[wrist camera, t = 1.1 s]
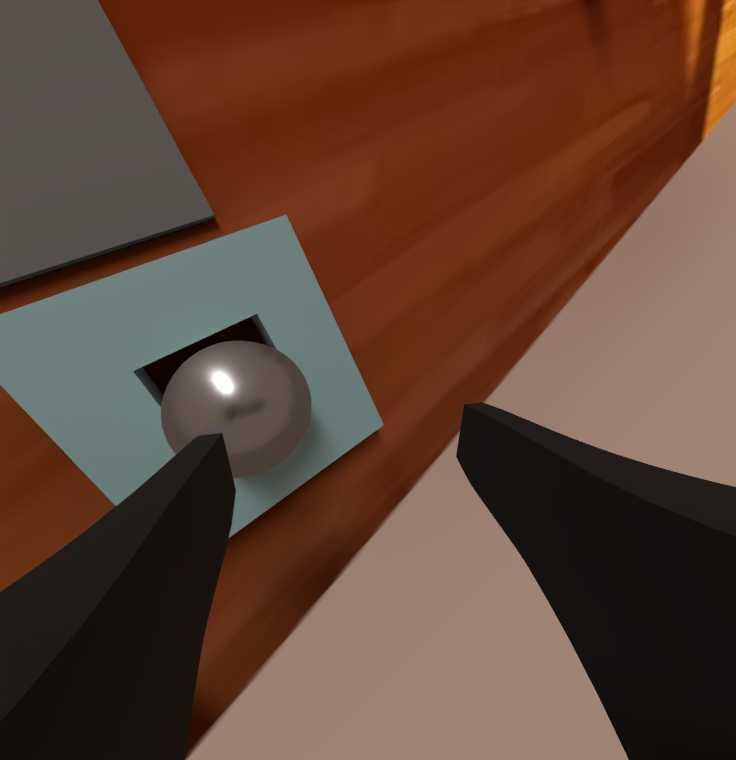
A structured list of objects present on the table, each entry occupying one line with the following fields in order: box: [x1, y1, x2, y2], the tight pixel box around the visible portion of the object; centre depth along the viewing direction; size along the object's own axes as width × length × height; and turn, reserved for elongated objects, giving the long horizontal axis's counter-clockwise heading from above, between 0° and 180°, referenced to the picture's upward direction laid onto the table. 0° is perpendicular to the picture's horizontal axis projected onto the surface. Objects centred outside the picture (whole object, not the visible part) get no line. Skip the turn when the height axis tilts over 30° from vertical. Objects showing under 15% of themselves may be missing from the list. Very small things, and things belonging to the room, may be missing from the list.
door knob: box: [161, 341, 312, 478], centre depth 15 cm, size 6×6×7 cm
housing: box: [0, 215, 384, 538], centre depth 17 cm, size 14×14×2 cm
